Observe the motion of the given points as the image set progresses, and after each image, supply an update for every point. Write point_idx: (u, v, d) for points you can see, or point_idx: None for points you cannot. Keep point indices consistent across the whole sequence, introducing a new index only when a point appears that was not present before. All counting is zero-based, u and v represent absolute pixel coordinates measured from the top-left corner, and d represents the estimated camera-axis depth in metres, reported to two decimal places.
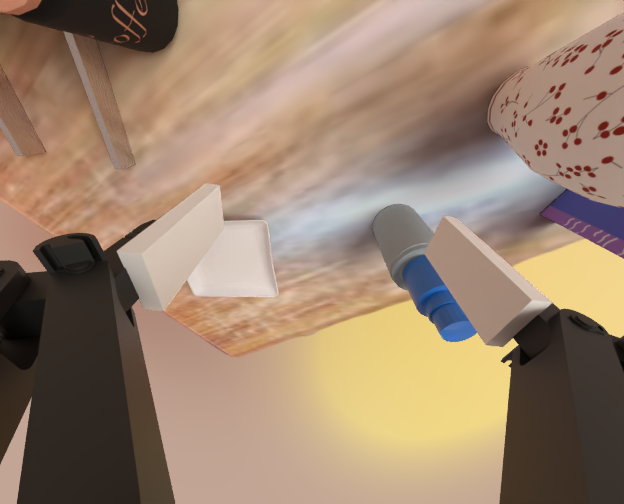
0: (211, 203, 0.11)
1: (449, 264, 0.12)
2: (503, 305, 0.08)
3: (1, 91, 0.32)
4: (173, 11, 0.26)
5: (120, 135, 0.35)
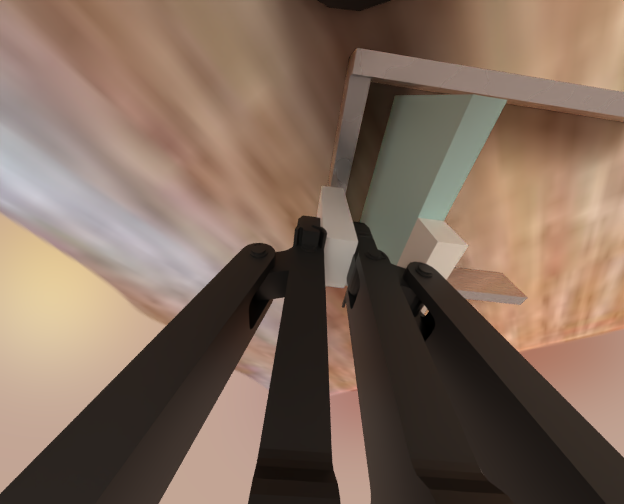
0: None
1: None
2: None
3: None
4: None
5: None
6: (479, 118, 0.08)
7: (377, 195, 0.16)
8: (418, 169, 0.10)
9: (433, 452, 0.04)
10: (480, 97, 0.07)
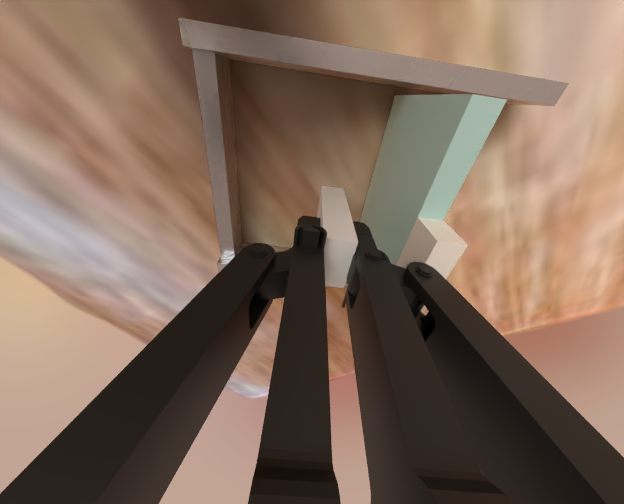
0: None
1: None
2: None
3: None
4: None
5: None
6: (479, 118, 0.08)
7: (377, 195, 0.16)
8: (418, 169, 0.10)
9: (433, 453, 0.04)
10: (480, 97, 0.07)
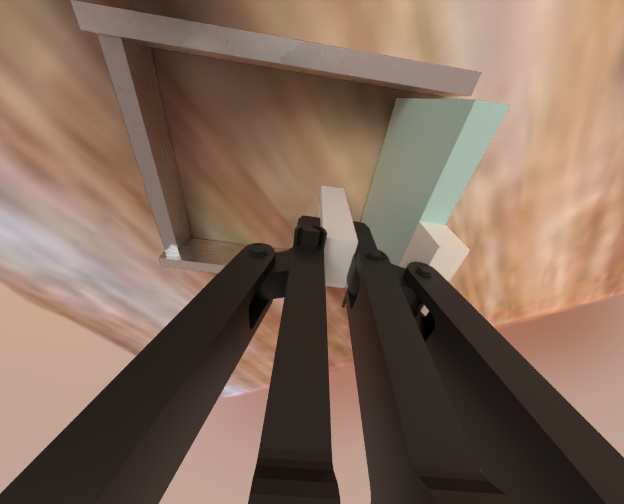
0: None
1: None
2: None
3: None
4: None
5: None
6: (482, 123, 0.08)
7: (377, 197, 0.16)
8: (419, 173, 0.10)
9: (433, 453, 0.04)
10: (483, 102, 0.07)
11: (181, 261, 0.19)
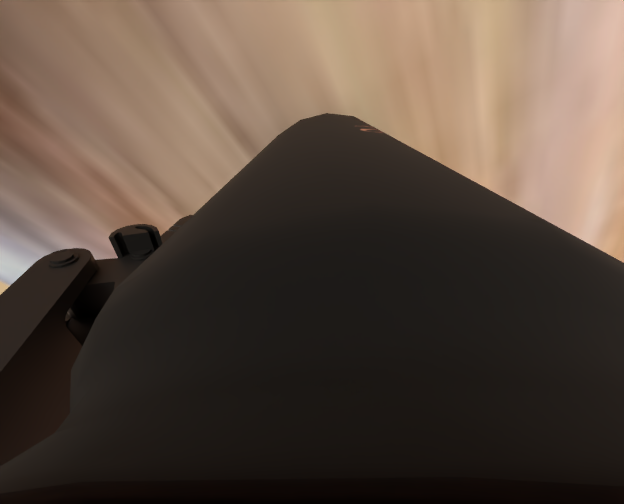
0: None
1: None
2: None
3: None
4: None
5: None
6: None
7: None
8: None
9: None
10: None
11: None
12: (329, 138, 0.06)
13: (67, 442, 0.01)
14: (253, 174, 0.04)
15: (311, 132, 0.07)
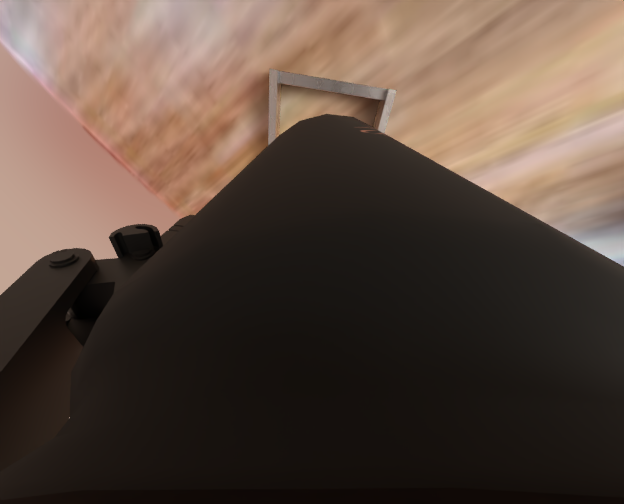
0: None
1: None
2: None
3: None
4: (363, 122, 0.13)
5: None
6: None
7: None
8: None
9: None
10: None
11: (275, 88, 0.28)
12: (329, 140, 0.06)
13: (67, 448, 0.01)
14: (253, 176, 0.04)
15: (311, 133, 0.07)
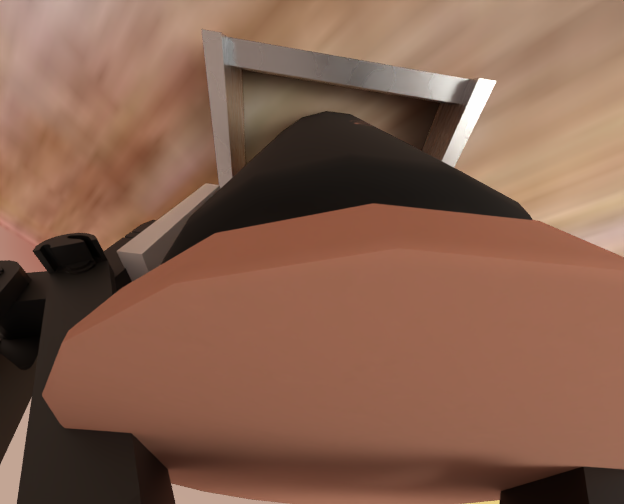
0: None
1: None
2: None
3: None
4: None
5: None
6: None
7: None
8: None
9: None
10: None
11: (222, 78, 0.12)
12: (328, 127, 0.07)
13: None
14: (272, 151, 0.06)
15: (313, 125, 0.09)
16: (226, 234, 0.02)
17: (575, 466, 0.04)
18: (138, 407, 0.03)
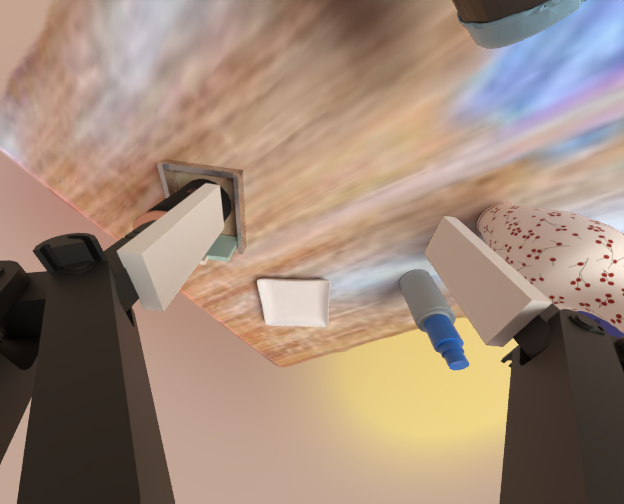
0: (211, 203, 0.11)
1: (449, 264, 0.12)
2: (503, 305, 0.08)
3: None
4: (208, 182, 0.47)
5: (244, 233, 0.55)
6: (225, 259, 0.50)
7: None
8: (217, 251, 0.51)
9: None
10: (227, 258, 0.50)
11: (163, 173, 0.45)
12: (174, 195, 0.40)
13: None
14: None
15: (178, 192, 0.41)
16: (146, 212, 0.35)
17: None
18: None
